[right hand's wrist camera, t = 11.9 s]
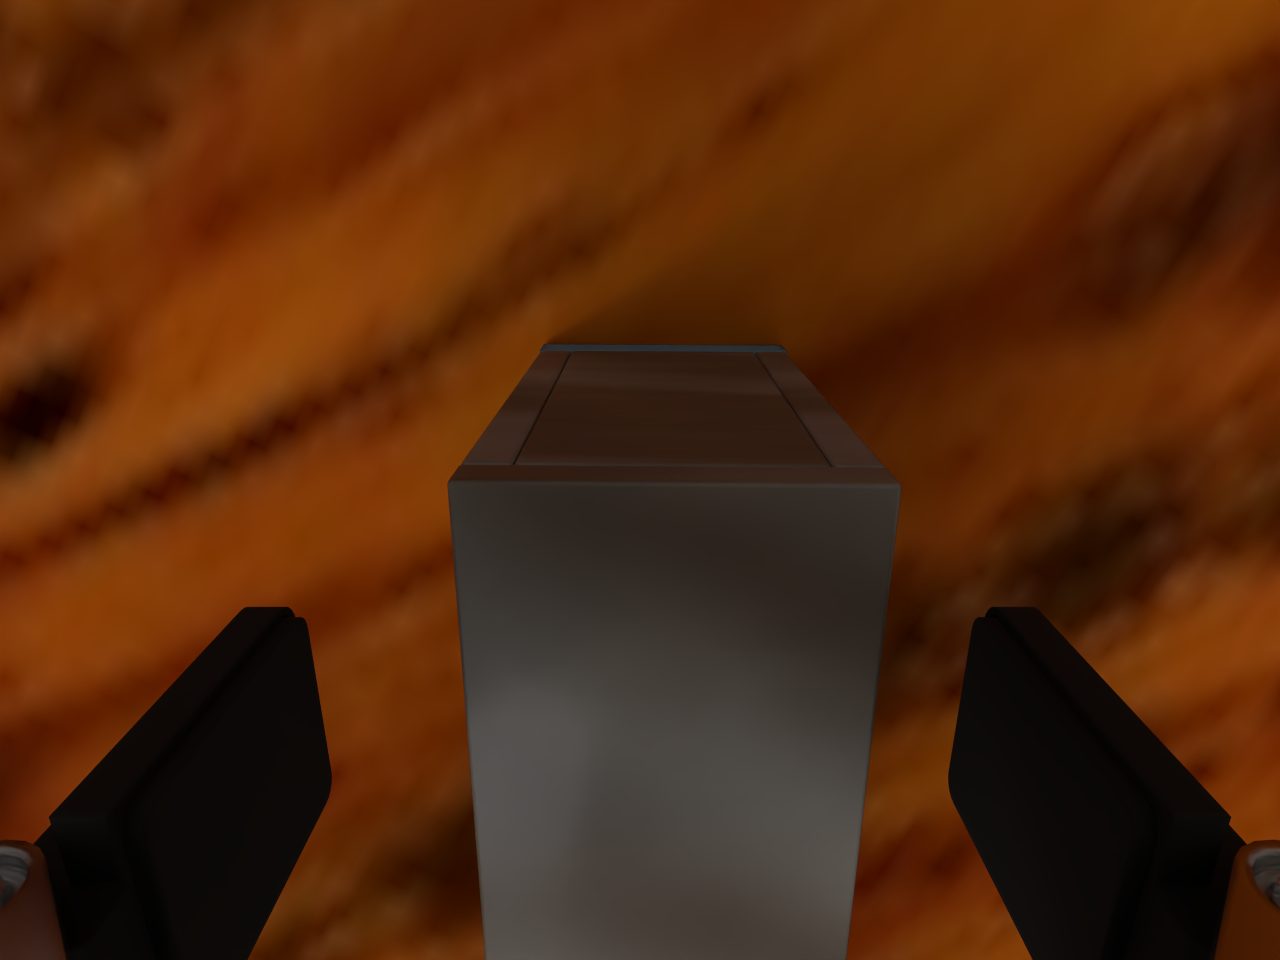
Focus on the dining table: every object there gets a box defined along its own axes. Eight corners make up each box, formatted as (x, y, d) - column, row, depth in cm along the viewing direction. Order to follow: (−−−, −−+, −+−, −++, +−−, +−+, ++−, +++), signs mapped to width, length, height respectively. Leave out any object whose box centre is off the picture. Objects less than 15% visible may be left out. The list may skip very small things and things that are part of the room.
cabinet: (750, 851, 25) (812, 1258, 15) (562, 848, 25) (507, 1252, 15) (781, 345, 20) (904, 484, 10) (544, 344, 20) (445, 480, 10)
